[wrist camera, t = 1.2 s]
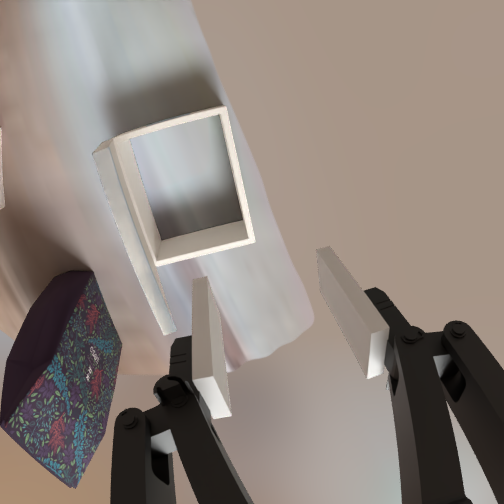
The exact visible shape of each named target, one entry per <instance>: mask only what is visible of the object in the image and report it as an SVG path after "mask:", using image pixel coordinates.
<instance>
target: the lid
mask: <svg viewBox="0 0 504 504" xmlns="http://www.w3.org/2000/svg"><path fill="white" fill-rule="evenodd" d="M92 155H93V158H94V161H95V165H96V168H97V171H98V174H99V177H100V180H101V183H102V186H103V189H104V192H105V195H106V198H107V201H108V204H109V206H110V209H111V212H112V215H113V217H114V220H115V223H116V225H117V228H118V231H119V233H120V236H121V239H122V241H123V244H124V246H125V249H126V251H127V254H128V256H129V259H130V261H131V263H132V266H133V268H134V271H135V273H136V275H137V278H138V280H139V282H140V285H141V287H142V289H143V291H144V294H145V296H146V298H147V300H148V302H149V305H150V307H151V309H152V311H153V313H154V315H155V318H156V320H157V322H158V324H159V326H160V328H161V330H162V332H163V334H164V336H165V335H167V334H170V333H172V332H175V331H177V329H176V326H175V324H174V321H173V318H172V315H171V312H170V309H169V306H168V303H167V300H166V297H165V294H164V291H163V288H162V285H161V282H160V278H159V275H158V272H157V269H156V266H155V263H154V261H153V258H152V256H151V253H150V250H149V248H148V245H147V242H146V239H145V237H144V234H143V231H142V228H141V226H140V223H139V220H138V217H137V214H136V211H135V208H134V205H133V202H132V199H131V196H130V193H129V190H128V187H127V184H126V181H125V178H124V175H123V171H122V168H121V165H120V162H119V158H118V155H117V152H116V148H115V145H114V141H113V139H110V140H107V141H104V142H102V143H101V144H100V145H99V147H98V148H97V149H96V150H95V151H94V152H93V153H92Z"/></svg>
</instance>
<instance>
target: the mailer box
mask: <svg viewBox="0 0 504 504" xmlns="http://www.w3.org/2000/svg"><path fill="white" fill-rule="evenodd" d="M218 114H219V116H220V120H221V125H222V129H223V134H224V138H225V143H226V147H227V151H228V156H229V160H230V165H231V169H232V174H233V178H234V183H235V187H236V191H237V196H238V200H239V205H240V209H241V214H242V218H243V220H241V221H237V222H233V223H229V224H224V225H220V226H216V227H212V228H208V229H204V230H200V231H196V232H192V233H188V234H184V235H180V236H177V237H173V238H169V239H165V240H161V237H160V234H159V231H158V228H157V225H156V222H155V219H154V216H153V213H152V210H151V207H150V204H149V201H148V198H147V195H146V192H145V189H144V185H143V182H142V179H141V176H140V172H139V169H138V166H137V162H136V159H135V155H134V152H133V148H132V145H131V141H130V139H131V138H135V137H138V136H141V135H144V134H147V133H151V132H154V131H157V130H161V129H164V128H168V127H171V126H175V125H178V124H182V123H186V122H190V121H194V120H198V119H202V118H206V117H210V116H214V115H218ZM111 139H113V141H114V145H115V148H116V152H117V155H118V158H119V162H120V165H121V168H122V171H123V175H124V178H125V181H126V184H127V187H128V190H129V193H130V196H131V199H132V202H133V205H134V208H135V211H136V214H137V217H138V220H139V223H140V226H141V228H142V231H143V234H144V237H145V239H146V242H147V245H148V248H149V250H150V253H151V256H152V258H153V261H154V263H155V266H156V267H157V266H161V265H165V264H169V263H173V262H177V261H181V260H186V259H190V258H194V257H198V256H202V255H206V254H210V253H214V252H218V251H222V250H226V249H231V248H235V247H239V246H243V245H247V244H251V243H255V237H254V232H253V228H252V223H251V218H250V214H249V209H248V205H247V200H246V195H245V191H244V186H243V181H242V177H241V172H240V167H239V163H238V158H237V154H236V149H235V144H234V140H233V135H232V131H231V126H230V122H229V117H228V112H227V108H226V106H224V105H221V106H217V107H212V108H208V109H204V110H200V111H196V112H192V113H187V114H183V115H179V116H176V117H172V118H168V119H165V120H161V121H158V122H155V123H151V124H149V125H146V126H143V127H139V128H136V129H133V130H130V131H127V132H124V133H122V134H119V135H117V136H115V137H113V138H111Z"/></svg>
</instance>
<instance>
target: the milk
mask: <svg viewBox="0 0 504 504" xmlns="http://www.w3.org/2000/svg"><path fill="white" fill-rule="evenodd" d="M4 207H5V199H4V188H3V174H2V149H1V128H0V209H2V208H4Z"/></svg>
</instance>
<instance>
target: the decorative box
mask: <svg viewBox="0 0 504 504" xmlns="http://www.w3.org/2000/svg"><path fill="white" fill-rule="evenodd" d="M121 349H122V343H121V340H120V338H119V336H118V334H117V331H116V329H115V327H114V324H113V322H112V319H111V317H110V315H109V312H108V310H107V307H106V305H105V302H104V299H103V297H102V294H101V292H100V289H99V286H98V283H97V281H96V278H95V275H94V272H91V271H69V272H67V273H64V274H61V275H59V276H56V277H54V278H53V279H52V281H51V282H50V283H49V284H48V286H47V287H46V288H45V290H44V291H43V292H42V293H41V295H40V296H39V297H38V299H37V300H36V301H35V303H34V304H33V305H32V307H31V308H30V310H29V312H28V314H27V316H26V318H25V320H24V322H23V324H22V327H21V329H20V331H19V333H18V335H17V338H16V340H15V342H14V344H13V347H12V349H11V351H10V354H9V356H8V358H7V361H6V367H5V375H4V382H3V390H2V399H1V412H0V426H1V428H2V429H3V430H4V431H5V432H6V433H7V434H8V435H9V436H10V437H11V438H12V439H13V440H14V441H15V442H17V444H19V445H20V446H21V447H22V448H23V449H24V450H25V451H26V452H27V453H28V454H29V455H31V456H32V457H33V458H34V459H35V460H36V461H37V462H38V463H40V464H41V465H42V466H43V467H44V468H46V469H47V470H48V471H49V472H50V473H52V474H53V475H54V476H56V477H57V478H58V479H59V480H60V481H62V482H63V483H64V484H66V485H67V486H68V487H70V488H71V487H73V488H76V487H77V485H78V483H79V481H80V479H81V477H82V476H83V474H84V472H85V470H86V468H87V466H88V464H89V462H90V460H91V458H92V457H93V455H94V453H95V451H96V449H97V447H98V446H99V444H100V442H101V440H102V438H103V436H104V434H105V431H106V426H107V421H108V416H109V411H110V406H111V402H112V398H113V393H114V389H115V384H116V378H117V372H118V366H119V360H120V354H121Z"/></svg>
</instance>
